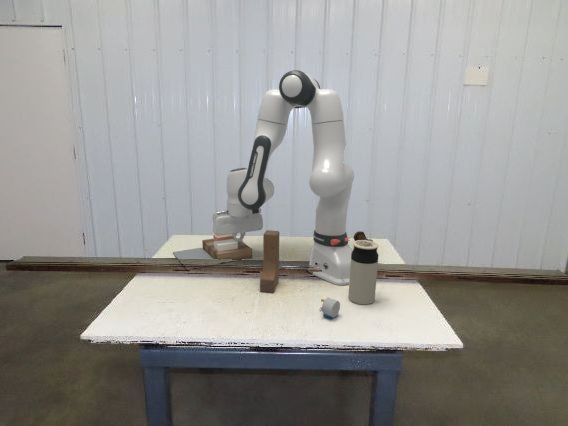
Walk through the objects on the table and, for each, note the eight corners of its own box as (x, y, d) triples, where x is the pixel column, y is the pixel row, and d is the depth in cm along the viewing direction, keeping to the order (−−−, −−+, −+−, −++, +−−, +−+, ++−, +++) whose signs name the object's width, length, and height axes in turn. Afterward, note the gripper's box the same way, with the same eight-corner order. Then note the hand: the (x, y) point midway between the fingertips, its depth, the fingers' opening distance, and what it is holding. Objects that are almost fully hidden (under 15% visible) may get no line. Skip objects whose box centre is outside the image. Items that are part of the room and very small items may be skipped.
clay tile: (236, 241, 153) (235, 235, 153) (217, 243, 149) (217, 238, 149) (231, 237, 158) (231, 232, 157) (213, 240, 154) (213, 234, 153)
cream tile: (237, 248, 144) (237, 242, 144) (218, 251, 141) (218, 245, 140) (232, 244, 149) (232, 238, 148) (213, 247, 145) (213, 241, 144)
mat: (218, 264, 138) (218, 263, 138) (186, 270, 132) (186, 269, 132) (201, 248, 155) (201, 247, 155) (172, 253, 149) (172, 252, 149)
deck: (252, 258, 146) (252, 248, 145) (218, 264, 139) (218, 254, 138) (233, 244, 162) (233, 235, 161) (202, 249, 155) (202, 240, 154)
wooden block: (273, 293, 116) (274, 239, 112) (259, 291, 117) (259, 238, 113) (278, 281, 125) (279, 230, 121) (265, 280, 126) (266, 229, 121)
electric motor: (327, 307, 108) (328, 292, 107) (341, 313, 105) (342, 297, 104) (314, 316, 103) (314, 300, 101) (328, 322, 100) (329, 306, 99)
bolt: (371, 257, 155) (356, 244, 169) (381, 250, 155) (366, 238, 169) (365, 246, 153) (351, 234, 167) (376, 240, 153) (361, 228, 167)
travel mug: (355, 306, 109) (359, 249, 105) (344, 294, 116) (347, 240, 112) (379, 303, 111) (384, 247, 107) (366, 292, 118) (371, 238, 114)
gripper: (215, 213, 136) (216, 249, 139) (264, 208, 146) (264, 241, 149) (210, 210, 141) (210, 244, 145) (258, 205, 151) (257, 237, 155)
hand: (238, 243), depth 147 cm, fingers closed
